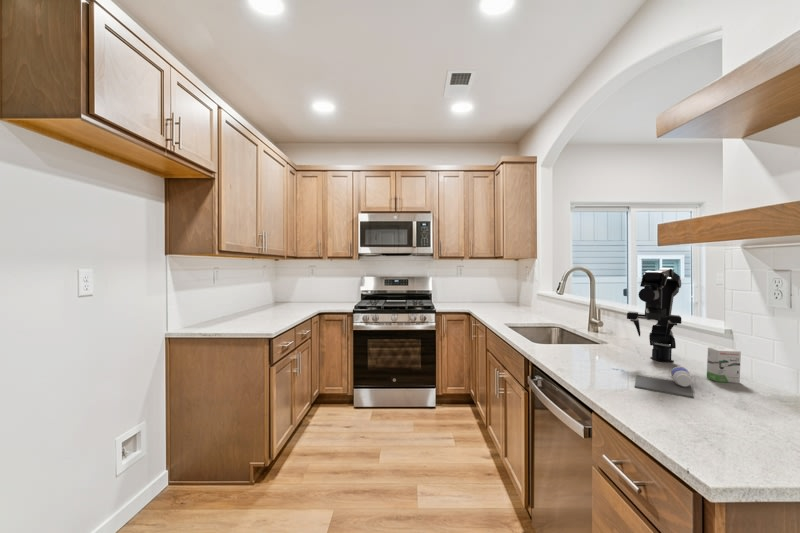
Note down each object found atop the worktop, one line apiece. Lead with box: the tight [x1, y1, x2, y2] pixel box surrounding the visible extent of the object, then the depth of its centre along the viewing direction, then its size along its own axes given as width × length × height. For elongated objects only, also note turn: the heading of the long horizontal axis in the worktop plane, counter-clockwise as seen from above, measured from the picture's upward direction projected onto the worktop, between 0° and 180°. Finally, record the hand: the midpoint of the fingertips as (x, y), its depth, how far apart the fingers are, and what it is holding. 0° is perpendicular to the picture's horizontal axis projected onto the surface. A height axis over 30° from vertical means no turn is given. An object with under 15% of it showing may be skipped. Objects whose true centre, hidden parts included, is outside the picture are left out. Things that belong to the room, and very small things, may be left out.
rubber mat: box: [634, 374, 695, 399], centre depth 128 cm, size 16×16×1 cm
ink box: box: [706, 346, 742, 384], centre depth 137 cm, size 9×5×12 cm, turn 87°
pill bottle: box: [670, 366, 693, 387], centre depth 129 cm, size 5×5×10 cm
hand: (652, 337), depth 154 cm, fingers open, 9 cm apart
